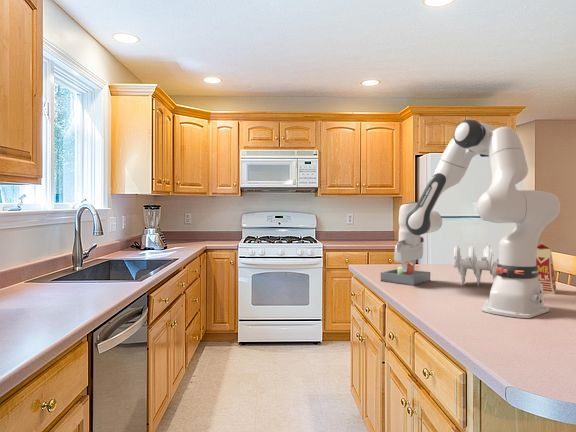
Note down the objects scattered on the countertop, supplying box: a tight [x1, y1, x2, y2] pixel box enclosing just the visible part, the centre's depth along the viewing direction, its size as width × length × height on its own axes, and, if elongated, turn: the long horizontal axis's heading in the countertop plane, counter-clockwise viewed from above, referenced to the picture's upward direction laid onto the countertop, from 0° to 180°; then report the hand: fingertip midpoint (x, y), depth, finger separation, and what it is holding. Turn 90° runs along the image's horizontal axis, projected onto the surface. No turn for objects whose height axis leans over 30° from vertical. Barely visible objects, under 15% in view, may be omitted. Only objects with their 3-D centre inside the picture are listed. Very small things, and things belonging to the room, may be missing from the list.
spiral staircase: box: [453, 243, 499, 287], centre depth 176 cm, size 18×18×25 cm
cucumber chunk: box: [397, 266, 407, 275], centre depth 189 cm, size 4×4×5 cm
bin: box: [380, 268, 431, 287], centre depth 187 cm, size 16×16×4 cm
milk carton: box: [536, 240, 557, 295], centre depth 165 cm, size 9×9×20 cm
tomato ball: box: [404, 263, 415, 275], centre depth 183 cm, size 5×5×5 cm
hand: (408, 270), depth 183 cm, fingers closed on tomato ball, 5 cm apart
